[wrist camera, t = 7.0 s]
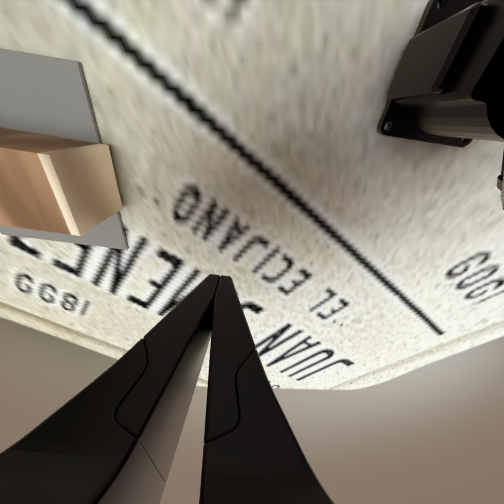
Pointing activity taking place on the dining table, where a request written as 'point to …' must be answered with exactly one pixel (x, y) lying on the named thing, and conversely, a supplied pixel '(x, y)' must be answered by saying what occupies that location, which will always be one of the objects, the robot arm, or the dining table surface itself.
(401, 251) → the dining table surface
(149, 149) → the dining table surface
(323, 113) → the dining table surface
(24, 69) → the mat
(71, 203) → the block
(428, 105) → the robot arm
